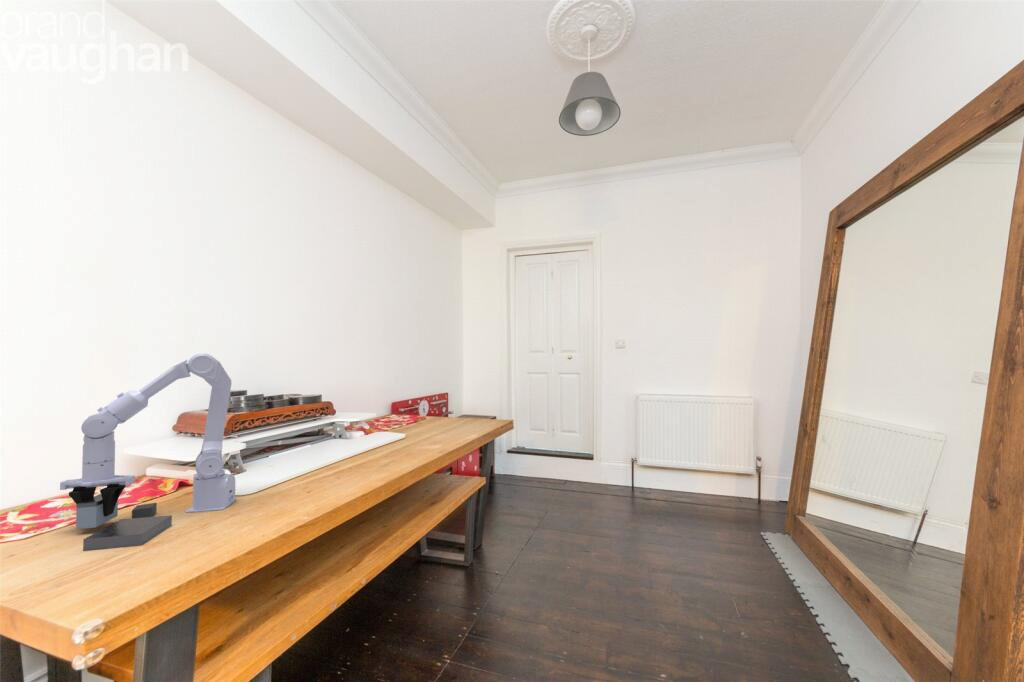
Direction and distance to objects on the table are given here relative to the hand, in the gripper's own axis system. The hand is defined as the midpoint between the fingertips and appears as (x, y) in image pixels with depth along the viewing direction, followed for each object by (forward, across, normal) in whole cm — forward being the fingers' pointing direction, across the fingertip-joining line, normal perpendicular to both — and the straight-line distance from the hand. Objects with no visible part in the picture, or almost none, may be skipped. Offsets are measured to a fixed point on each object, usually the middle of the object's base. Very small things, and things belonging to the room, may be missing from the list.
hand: (97, 515), depth 100 cm
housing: (+2, 0, 0) cm, 2 cm away
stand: (+3, +12, -8) cm, 15 cm away
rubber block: (+3, +7, +6) cm, 9 cm away
